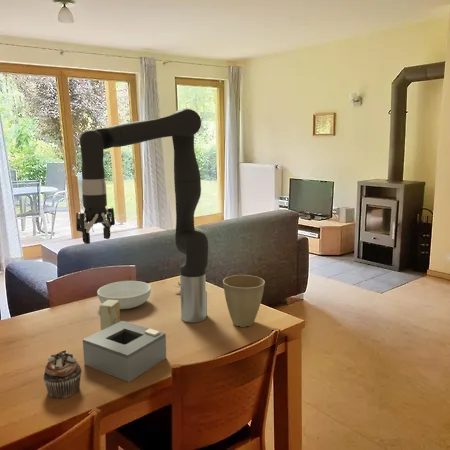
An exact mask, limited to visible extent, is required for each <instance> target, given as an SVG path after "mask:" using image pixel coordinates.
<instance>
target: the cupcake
mask: <svg viewBox="0 0 450 450" xmlns="http://www.w3.org/2000/svg"><path fill="white" fill-rule="evenodd" d="M47 361H48V362H47V363H46V365H45V367H44V374H43V377H42V379H43V381H44V384H45V388H46V390H47V394H48V396H49V397H51V398H52V399H64V398H65V399H66V398H68V397H71V396H73V395H75V394H76V393H78V391H79V390H80V385H81V377H82V373H83V370H82V367H81V365H80V364H79V362H78V361H77V356H74V354H72V353H70V352H68V351H67V350H62V351H59V352H58V353H56V354H51V355H50V356H48V357H47Z"/></svg>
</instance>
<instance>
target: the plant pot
mask: <svg viewBox="0 0 450 450" xmlns="http://www.w3.org/2000/svg"><path fill="white" fill-rule="evenodd" d="M222 283H223V284H222V285H223V292H224V298H225V302H226V306H227V310H228V313H229V316H230V320H231V322H232V324H233V326H236V327H238V326H240V328H247V327H246V326H249V327H251V326H253V325H252V324H254V323H255V321H256V317H257V315H258V312H259V311H260V306H261V303H262V299H263V295H264V291H265V290H264V289H265V285H266V284H265V283H266V281H265V280H264V279H263V278H262V277H260V276H255V275H250V274H235V275H231V276H227V277H224V279H222ZM250 325H251V326H250Z"/></svg>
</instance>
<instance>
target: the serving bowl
mask: <svg viewBox="0 0 450 450" xmlns="http://www.w3.org/2000/svg"><path fill="white" fill-rule="evenodd" d="M151 291H152V286H151V285H150V284H149V283H147V282H143V281H138V280H121V281H115V282H111V283H107V284H106V285H103V286H101V287H99V288H98V289H97V291H96V293H97V298H98V300H99V301H100V303H101V304H103V303H104V302H105V301H107V300H119V307H120V310H127V309H133V308H137V307H139V306H141V305H143V304H144V303H145V302H146V301H147V300H148V299H149V297H150V296H151Z"/></svg>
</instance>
